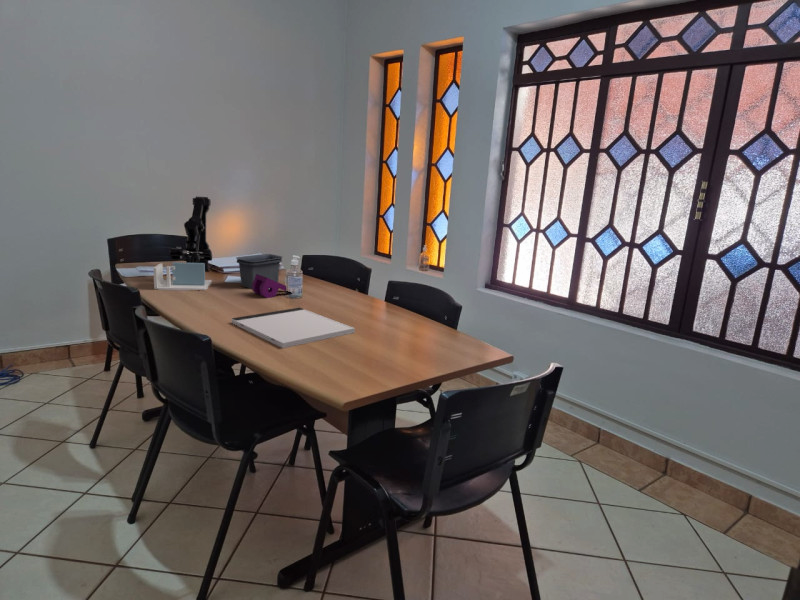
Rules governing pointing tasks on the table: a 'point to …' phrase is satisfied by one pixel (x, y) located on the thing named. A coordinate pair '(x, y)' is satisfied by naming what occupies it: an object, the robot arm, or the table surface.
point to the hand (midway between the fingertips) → (189, 269)
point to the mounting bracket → (266, 286)
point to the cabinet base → (168, 283)
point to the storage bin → (258, 267)
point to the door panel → (188, 273)
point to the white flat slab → (292, 327)
